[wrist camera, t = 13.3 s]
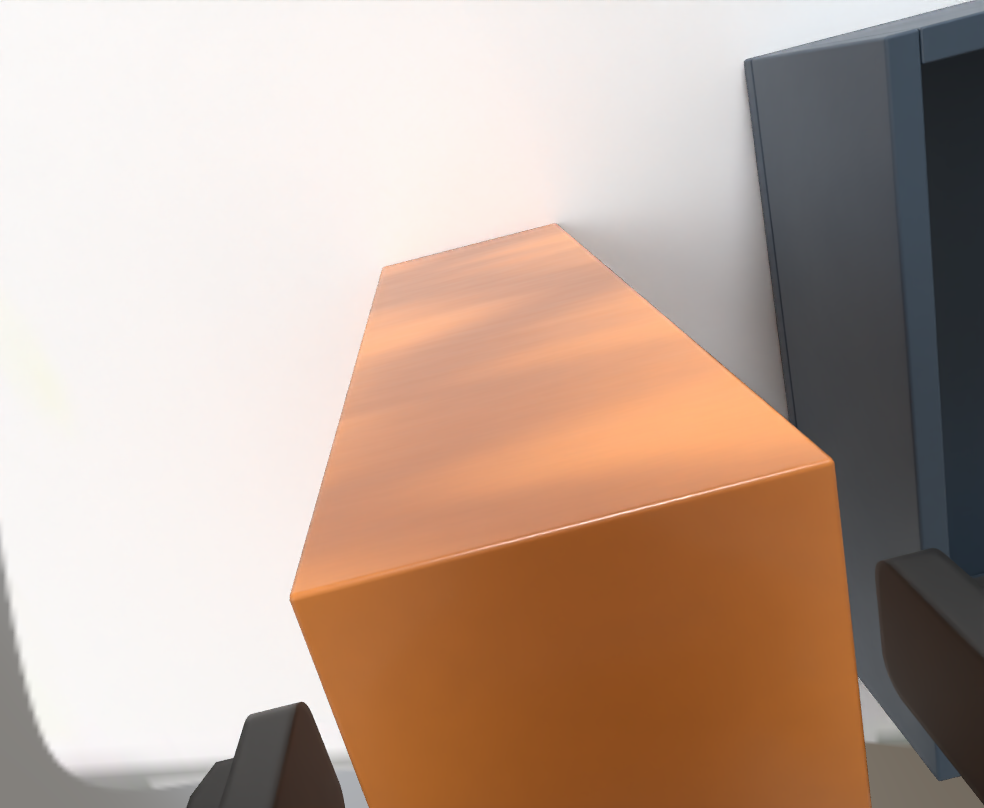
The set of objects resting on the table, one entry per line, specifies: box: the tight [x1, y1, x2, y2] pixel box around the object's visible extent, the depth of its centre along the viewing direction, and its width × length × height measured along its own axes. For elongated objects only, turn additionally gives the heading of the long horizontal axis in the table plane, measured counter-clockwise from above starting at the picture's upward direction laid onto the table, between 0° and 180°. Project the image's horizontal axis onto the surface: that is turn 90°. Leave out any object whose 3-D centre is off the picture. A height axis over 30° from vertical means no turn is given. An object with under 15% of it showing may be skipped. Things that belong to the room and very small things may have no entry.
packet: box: [290, 223, 872, 808], centre depth 15 cm, size 4×9×15 cm, turn 14°
